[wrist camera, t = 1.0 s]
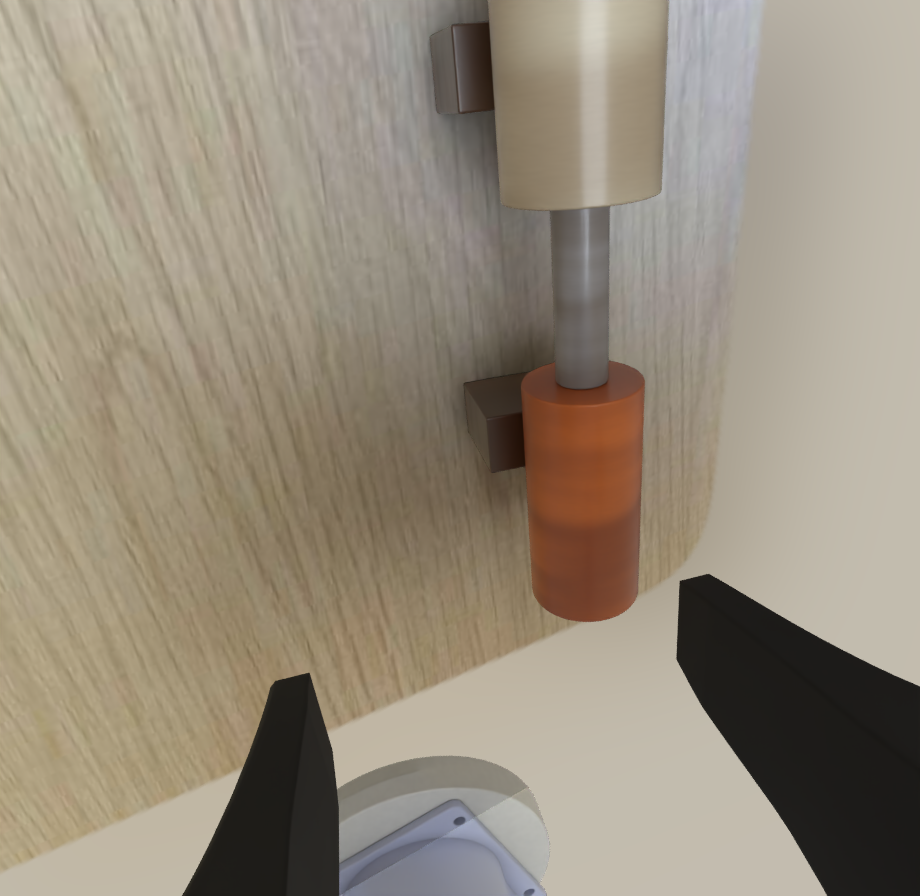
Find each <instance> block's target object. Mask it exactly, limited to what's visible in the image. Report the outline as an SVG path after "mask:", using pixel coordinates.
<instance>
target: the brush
mask: <svg viewBox="0 0 920 896" xmlns="http://www.w3.org/2000/svg"><path fill="white" fill-rule="evenodd" d="M488 12H489V28H490V44H491V60H492V76H493V92H494V107H495V123H496V139H497V155H498V171H499V186H500V202H501V204H502V205H503V206H506V207H509V208H513V209H520V210H535V211H550V224H551V255H552V287H553V318H554V350H555V363H551V364H548V365H544V366H541V367H539V368H537V369H535V370H533V371H531V372H530V373H528V374H527V375H526V376H525V377H524V378H523V380H522V382H521V398H522V416H523V433H524V451H525V468H526V486H527V503H528V521H529V539H530V556H531V574H532V589H533V593H534V596H535V598H536V599H537V601H538V602H539V603H540V605H541V606H542V607H544V608H545V609H546V610H547V611H549V612H550V613H552V614H554V615H556V616H559V617H561V618H564V619H568V620H573V621H580V622H594V621H602V620H607V619H610V618H613V617H616V616H618V615H620V614H622V613H623V612H625V611H626V610H627V609H628V608H629V607H630V606H631V605H632V604H633V603H634V601H635V599H636V597H637V594H638V576H639V546H640V515H641V484H642V454H643V423H644V393H645V380H644V377H643V376H642V374H641V373H640V372H639V371H638V370H636V369H634V368H632V367H630V366H628V365H625V364H622V363H618V362H613V361H609V240H610V206H615V205H622V204H627V203H633V202H637V201H641V200H645V199H648V198H651V197H654V196H656V195H658V194H659V193H660V192H661V190H662V170H663V144H664V119H665V94H666V68H667V43H668V17H669V0H488Z"/></svg>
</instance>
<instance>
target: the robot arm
mask: <svg viewBox="0 0 920 896" xmlns="http://www.w3.org/2000/svg"><path fill="white" fill-rule="evenodd" d="M678 613H679V614H678V636H677V661H678V663H679V665H680V667H681V669H682V670H683V672H684V674H685V676H686V678H687V680H688V682H689V684H690V686H691V687H692V689H693V691H694V693H695V695H696V696H697V698H698V700H699V702H700V703H701V705H702V707H703V708H704V710H705V711H706V713H707V714H708V716H709V717H710V719H711V720H712V721H713V723H714V724H715V726H716V727H717V728H718V730H719V731H720V733H721V734H722V735H723V737H724V738H725V740H726V741H727V743H728V744H729V745H730V747H731V748H732V749H733V751H734V752H735V754H736V755H737V756H738V758H739V759H740V761H741V762H742V763H743V765H744V766H745V768H746V769H747V771H748V772H749V773H750V774H751V776H752V777H753V779H754V780H755V782H756V783H757V784H758V786H759V787H760V789H761V790H762V791H763V793H764V794H765V795H766V797H767V798H768V800H769V801H770V802H771V804H772V805H773V807H774V808H775V810H776V811H777V813H778V814H779V816H780V817H781V819H782V820H783V822H784V823H785V825H786V826H787V828H788V829H789V831H790V832H791V834H792V836H793V837H794V839H795V841H796V843H797V844H798V846H799V848H800V849H801V851H802V853H803V855H804V856H805V858H806V860H807V861H808V863H809V865H810V866H811V868H812V870H813V872H814V873H815V875H816V877H817V878H818V880H819V882H820V883H821V885H822V887H823V889H824V891H825V892H826V894H827V896H920V686H918V685H915V684H913V683H911V682H908V681H906V680H903V679H901V678H899V677H897V676H894V675H892V674H890V673H888V672H886V671H884V670H882V669H879V668H877V667H875V666H873V665H871V664H869V663H867V662H865V661H863V660H861V659H859V658H857V657H855V656H853V655H851V654H849V653H847V652H845V651H843V650H841V649H839V648H837V647H836V646H834V645H832V644H830V643H828V642H826V641H824V640H822V639H821V638H819V637H817V636H815V635H813V634H811V633H810V632H808V631H806V630H804V629H803V628H801V627H799V626H797V625H795V624H794V623H791V622H790V621H788V620H787V619H785V618H783V617H781V616H780V615H778V614H776V613H775V612H773V611H771V610H770V609H768V608H766V607H764V606H763V605H761V604H759V603H758V602H756V601H754V600H753V599H751V598H749V597H747V596H746V595H744V594H743V593H741V592H739V591H737V590H736V589H734V588H732V587H731V586H729V585H727V584H726V583H724V582H722V581H720V580H719V579H717V578H715V577H713V576H712V575H710V574H706V575H702V576H698V577H694V578H690V579H686V580H682V581H680V588H679V611H678ZM182 896H547V894H546V891H545V889H544V888H543V887H542V886H541V885H540V884H539V883H538V882H537V880H536V879H535V878H534V877H533V876H532V875H531V874H530V873H529V872H528V871H527V870H526V869H525V868H524V867H523V866H522V865H521V864H520V863H519V862H518V860H517V859H516V858H515V857H514V856H513V855H512V854H511V853H510V852H509V851H508V850H507V849H506V848H505V847H504V846H503V845H502V844H501V843H500V841H499V840H498V839H497V838H496V837H495V836H494V835H493V834H492V833H491V832H490V831H489V830H488V829H487V828H486V827H485V826H484V825H483V824H482V823H481V821H480V820H479V819H478V818H477V817H476V816H475V815H474V814H473V813H472V812H471V811H470V810H469V809H468V808H467V807H466V806H465V805H464V804H463V803H462V802H461V801H459V800H450V801H447V802H446V803H444V804H442V805H440V806H439V807H437V808H435V809H433V810H432V811H430V812H428V813H427V814H425V815H423V816H421V817H420V818H418V819H416V820H414V821H413V822H411V823H409V824H407V825H406V826H404V827H402V828H401V829H399V830H397V831H395V832H394V833H392V834H390V835H388V836H387V837H385V838H383V839H382V840H380V841H378V842H376V843H375V844H373V845H371V846H369V847H368V848H366V849H364V850H363V851H361V852H359V853H357V854H356V855H354V856H352V857H350V858H349V859H347V860H345V861H343V862H342V863H340V864H339V806H338V797H337V787H336V778H335V769H334V761H333V751H332V747H331V744H330V741H329V737H328V734H327V730H326V727H325V724H324V720H323V717H322V714H321V710H320V707H319V703H318V700H317V697H316V693H315V690H314V687H313V683H312V680H311V676H310V673H306V674H302V675H298V676H294V677H290V678H286V679H282V680H278V681H275V682H274V684H273V685H272V686H271V687H270V691H269V695H268V699H267V702H266V705H265V708H264V712H263V715H262V718H261V721H260V724H259V727H258V730H257V733H256V735H255V738H254V741H253V744H252V746H251V749H250V752H249V754H248V757H247V759H246V762H245V764H244V767H243V769H242V772H241V774H240V777H239V779H238V782H237V784H236V787H235V789H234V792H233V794H232V796H231V799H230V801H229V803H228V805H227V807H226V809H225V812H224V814H223V816H222V818H221V820H220V823H219V825H218V827H217V829H216V831H215V834H214V836H213V838H212V840H211V842H210V844H209V846H208V848H207V850H206V852H205V854H204V856H203V858H202V860H201V862H200V864H199V866H198V868H197V869H196V872H195V873H194V875H193V877H192V879H191V881H190V883H189V884H188V886H187V888H186V890H185V892H184V893H183V895H182Z"/></svg>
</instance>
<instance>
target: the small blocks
mask: <svg viewBox="0 0 920 896" xmlns="http://www.w3.org/2000/svg"><path fill="white" fill-rule="evenodd" d="M430 45H431V55H432V66H433V76H434V86H435V96H436V106H437V112H438V113H439V114H464V113H473V112H483V111H492V110H495V107H494V92H493V76H492V60H491V44H490V28H489V21H483V22H472V23H461V24H452V25H450V26H449V27H447V28H445V29H443V30H441V31H439V32H437V33H435V34H433V35H432V36H430ZM528 373H530V372H526V373H520V374H514V375H509V376H503V377H497V378H491V379H485V380H480V381H474V382H468V383H464V392H465V402H466V412H467V422H468V432H469V434H470V436H471V438H472V439H473V441H474V443H475V445H476V447H477V448H478V450H479V452H480V454H481V456H482V457H483V459H484V461H485V463H486V465H487V466H488V468H489V470H490V472H491V473H494V472H499V471H504V470H510V469H515V468H520V467H525V451H524V433H523V416H522V398H521V382H522V380H523V378H524V377H525V376H526V375H527V374H528Z"/></svg>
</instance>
